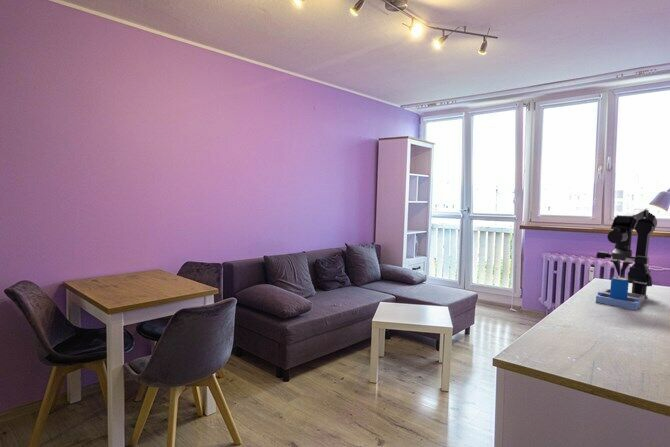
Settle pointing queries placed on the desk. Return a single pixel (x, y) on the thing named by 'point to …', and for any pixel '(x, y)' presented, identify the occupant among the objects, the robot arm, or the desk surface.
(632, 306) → the slot holder
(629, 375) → the desk surface
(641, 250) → the robot arm
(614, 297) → the beverage can
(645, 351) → the desk surface
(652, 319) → the desk surface
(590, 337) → the desk surface
